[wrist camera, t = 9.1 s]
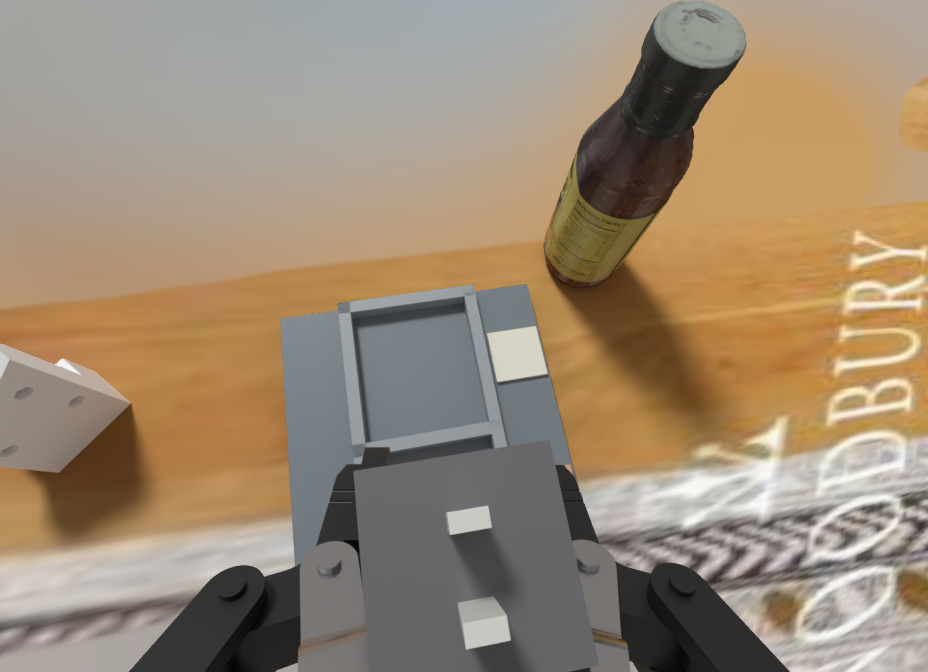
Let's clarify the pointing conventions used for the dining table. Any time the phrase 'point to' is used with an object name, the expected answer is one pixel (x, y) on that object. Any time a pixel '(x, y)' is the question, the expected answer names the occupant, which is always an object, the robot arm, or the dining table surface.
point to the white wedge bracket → (50, 410)
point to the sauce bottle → (641, 142)
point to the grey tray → (411, 387)
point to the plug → (471, 565)
